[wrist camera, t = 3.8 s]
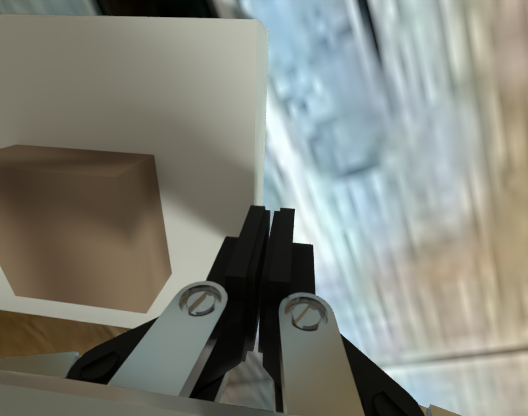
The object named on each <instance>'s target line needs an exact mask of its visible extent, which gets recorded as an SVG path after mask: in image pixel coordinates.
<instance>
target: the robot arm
mask: <svg viewBox="0 0 528 416" xmlns="http://www.w3.org/2000/svg"><path fill="white" fill-rule="evenodd" d="M294 214H295V209H290V208H280V211H274V216H273V221H272V226H271V231H270V210H265V206H256V205H251V206H250V208H249V211H248V213H247V216H246V219H245V221H244V224H243V227H242V229H241V232H240V235H239V237H231V236H226V237H225V239H224V241H223V243H222V245H221V248H220V250H219V252H218V254H217V256H216V259H215V261H214V263H213V265H212V267H211V270H210V272H209V274H208V276H207V279H206V281H199V282H194V283H191V284H189V285H187V286H185V287H184V288H182V289H181V290H180V291H179V292H178V293H177V294H176V295H175V297H174V298H173V299H172V301H171V302H170V303H169V304H168V306H167V307H166V308H165V310H164V311H163V312H162V314H161V315H160V316H159V317H157V318H154V319H152V320H150V321H148V322H146V323H144V324H142V325H140V326H138V327H136V328H134V329H131V330H129V331H127V332H125V333H123V334H121V335H119V336H117V337H115V338H113V339H111V340H109V341H106V342H104V343H102V344H100V345H98V346H96V347H94V348H93V349H91V350H89V351H88V352H86V353H85V354H83V355H79V354H78V351H75V352H62V353H50V354H37V355H24V356H12V357H1V358H0V416H461V415H458V414H456V413H453V412H450V411H447V410H445V409H442V408H439V407H437V406H434V405H431V404H430V406H429V408H426V407H423V406H421V405H418V403H417V402H416V401H415V400H414V399H413V397H412V396H411V395H410V394H409V393H408V392H407V391H406V390H404V389H403V388H402V387H401V386H400V385H399V384H398V383H396V382H395V381H394V380H393V379H392V378H391V377H390V376H388V375H387V374H386V373H385V372H384V371H383V370H382V369H380V368H379V367H378V366H377V365H376V364H375V363H374V362H372V361H371V360H370V359H369V358H368V357H367V356H366V355H364V354H363V353H362V352H361V351H360V350H359V349H358V348H356V347H355V346H354V345H353V344H352V343H351V342H350V341H348V340H347V339H346V338H345V337H344V336H343V335H342V334H340V332H339V329H338V325H337V322H336V319H335V315H334V312H333V310H332V308H331V306H330V305H329V304H328V303H327V302H326V301H325V300H323V299H322V298H320V297H319V296H316V295H315V274H314V253H313V245H311V244H301V243H293V229H294ZM269 231H270V236H269ZM259 316H260V317H259ZM258 322H259V345H258V352H260V353H263V367H264V368H265V370H266V371H267V372H268V373H269V375H270V376H271V377H272V379H273V401H274V412H273V411H267V410H260V409H254V408H248V407H242V406H236V405H229V404H223V403H219V402H220V400H221V397H222V395H223V392H224V389H225V387H226V384H227V382H228V379H229V375H230V370H231V369H232V368H234V367H235V366H237V365H238V364H240V363H241V361H243V362H245V359H246V354H247V351H253V350H254V345H255V339H256V333H257V328H258Z"/></svg>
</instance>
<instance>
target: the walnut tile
mask: <svg viewBox="0 0 528 416" xmlns="http://www.w3.org/2000/svg"><path fill="white" fill-rule="evenodd" d="M0 267H1V269H2V271H3V272H4V274H5V276H6V278H7V280H8V282H9V284H10V286H11V288H12V290H13V292H14V294H15V296H20V297H27V298H34V299H42V300H49V301H56V302H64V303H71V304H78V305H86V306H93V307H100V308H107V309H115V310H122V311H129V312H137V313H144V314H146V313H147V312H148V310H149V309H150V307H151V306H152V304H153V303H154V301H155V299H156V298H157V296H158V295H159V293H160V292H161V290H162V289H163V287H164V285H165V284H166V282H167V281H168V279H169V278H170V276H171V275H172V270H171V264H170V257H169V251H168V244H167V238H166V231H165V224H164V218H163V211H162V205H161V198H160V191H159V185H158V178H157V172H156V165H155V158H154V155H151V154H138V153H125V152H111V151H98V150H85V149H71V148H58V147H45V146H31V145H18V144H16V145H12V146H9V147H5V148H1V149H0Z"/></svg>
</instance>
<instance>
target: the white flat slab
mask: <svg viewBox="0 0 528 416" xmlns="http://www.w3.org/2000/svg"><path fill="white" fill-rule="evenodd" d="M268 41H269V30H268V29H267V28H266V27H265V26H264V25H263V24H262V23H261V22H260V21H258V20H257V19H217V18H171V17H125V16H80V15H34V14H0V149H1V148H5V147H9V146H12V145H16V144H18V145H31V146H45V147H58V148H71V149H85V150H98V151H111V152H125V153H138V154H151V155H154V158H155V165H156V172H157V178H158V185H159V191H160V198H161V205H162V211H163V218H164V224H165V231H166V238H167V244H168V251H169V257H170V264H171V270H172V275H171V276H170V278H169V279H168V281H167V282H166V284H165V285H164V287H163V289H162V290H161V292H160V293H159V295H158V296H157V298H156V299H155V301H154V303H153V304H152V306H151V307H150V309H149V310H148V312H147V313H146V314H144V313H137V312H129V311H122V310H115V309H107V308H100V307H93V306H86V305H78V304H71V303H64V302H56V301H49V300H42V299H34V298H27V297H20V296H15V294H14V292H13V290H12V288H11V286H10V284H9V282H8V280H7V278H6V276H5V274H4V272H3V271H2V269H1V267H0V310H6V311H13V312H20V313H27V314H34V315H41V316H48V317H55V318H62V319H69V320H76V321H82V322H89V323H96V324H103V325H110V326H117V327H124V328H131V329H134V328H136V327H138V326H140V325H142V324H144V323H146V322H148V321H150V320H152V319H154V318H157V317H159V316H160V315H161V314H162V312H163V311H164V310H165V308H166V307H167V306H168V304H169V303H170V302H171V301H172V299H173V298H174V297H175V295H176V294H177V293H178V292H179V291H180V290H181V289H182V288H184V287H185V286H187V285H189V284H191V283H194V282H199V281H206V279H207V276H208V274H209V272H210V270H211V267H212V265H213V263H214V261H215V259H216V256H217V254H218V252H219V250H220V248H221V245H222V243H223V241H224V239H225V237H226V236H231V237H239V235H240V232H241V229H242V227H243V224H244V221H245V219H246V216H247V213H248V211H249V208H250V206H251V205H256V206H263V181H264V153H265V125H266V97H267V69H268Z"/></svg>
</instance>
